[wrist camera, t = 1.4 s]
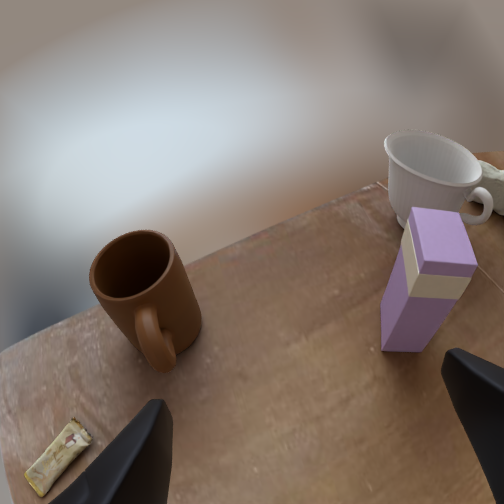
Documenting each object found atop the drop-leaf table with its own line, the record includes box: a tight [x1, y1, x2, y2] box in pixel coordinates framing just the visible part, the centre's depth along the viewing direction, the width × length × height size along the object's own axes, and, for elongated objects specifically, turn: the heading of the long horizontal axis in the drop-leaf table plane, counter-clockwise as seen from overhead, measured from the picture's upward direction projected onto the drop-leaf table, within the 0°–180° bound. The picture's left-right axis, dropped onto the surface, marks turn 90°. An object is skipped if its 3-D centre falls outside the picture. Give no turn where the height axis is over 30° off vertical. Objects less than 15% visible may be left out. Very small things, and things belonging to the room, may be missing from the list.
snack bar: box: [24, 417, 93, 497], centre depth 19 cm, size 10×2×3 cm
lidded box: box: [380, 207, 478, 352], centre depth 22 cm, size 5×4×12 cm
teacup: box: [384, 130, 493, 229], centre depth 32 cm, size 12×15×10 cm
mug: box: [89, 230, 201, 373], centre depth 25 cm, size 12×8×9 cm, turn 24°
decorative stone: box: [471, 161, 504, 215], centre depth 35 cm, size 11×9×10 cm
